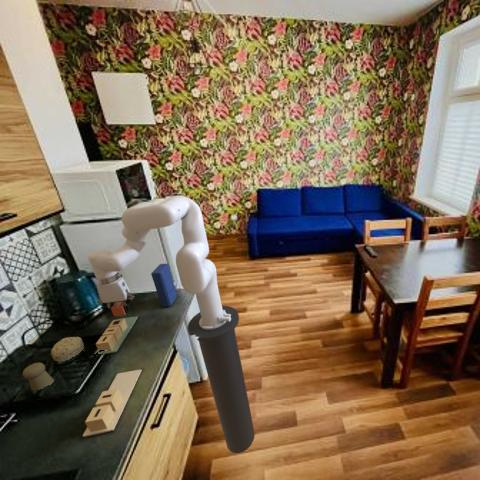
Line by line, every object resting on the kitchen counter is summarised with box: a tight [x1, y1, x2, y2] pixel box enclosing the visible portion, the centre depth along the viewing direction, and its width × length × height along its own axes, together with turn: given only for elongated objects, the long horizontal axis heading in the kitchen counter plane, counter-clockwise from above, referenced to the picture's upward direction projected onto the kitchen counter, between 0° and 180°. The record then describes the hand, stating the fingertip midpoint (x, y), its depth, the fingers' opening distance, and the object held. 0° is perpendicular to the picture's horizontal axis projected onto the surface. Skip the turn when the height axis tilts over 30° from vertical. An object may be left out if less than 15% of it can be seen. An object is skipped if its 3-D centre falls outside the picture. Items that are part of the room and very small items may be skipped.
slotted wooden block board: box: [82, 369, 143, 438], centre depth 88 cm, size 22×8×5 cm, turn 12°
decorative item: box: [50, 336, 85, 362], centre depth 105 cm, size 10×10×10 cm
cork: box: [22, 362, 55, 391], centre depth 91 cm, size 6×6×11 cm
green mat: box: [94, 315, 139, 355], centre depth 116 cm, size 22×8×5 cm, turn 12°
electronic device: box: [150, 263, 179, 308], centre depth 135 cm, size 10×5×20 cm, turn 6°
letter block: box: [111, 301, 127, 317], centre depth 121 cm, size 4×4×5 cm
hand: (121, 311), depth 122 cm, fingers closed on letter block, 4 cm apart
